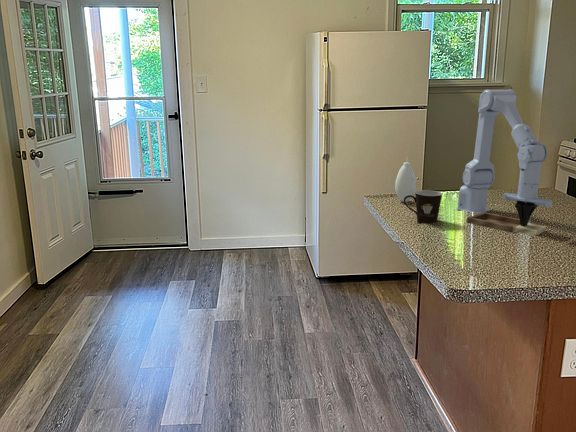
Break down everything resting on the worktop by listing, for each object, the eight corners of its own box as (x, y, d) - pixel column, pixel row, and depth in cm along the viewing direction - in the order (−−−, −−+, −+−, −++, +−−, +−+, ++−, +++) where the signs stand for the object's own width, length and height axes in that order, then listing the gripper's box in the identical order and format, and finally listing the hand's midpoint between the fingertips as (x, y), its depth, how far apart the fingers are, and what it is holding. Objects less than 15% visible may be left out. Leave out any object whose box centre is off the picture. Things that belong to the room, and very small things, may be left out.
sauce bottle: (416, 204, 206) (419, 157, 202) (396, 204, 206) (398, 157, 202) (412, 199, 214) (415, 154, 209) (392, 199, 214) (395, 154, 209)
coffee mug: (444, 221, 182) (446, 192, 179) (432, 227, 176) (434, 197, 173) (414, 215, 190) (415, 187, 187) (401, 220, 184) (402, 191, 181)
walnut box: (466, 224, 179) (467, 217, 179) (483, 218, 186) (483, 212, 186) (510, 233, 168) (511, 227, 168) (526, 227, 176) (526, 220, 175)
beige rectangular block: (514, 234, 169) (515, 226, 169) (524, 229, 174) (525, 222, 174) (535, 238, 165) (535, 231, 164) (545, 233, 170) (546, 226, 169)
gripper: (500, 181, 169) (495, 223, 173) (547, 188, 159) (541, 232, 163) (510, 178, 174) (506, 219, 178) (556, 185, 164) (551, 228, 167)
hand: (523, 225), depth 170 cm, fingers closed
